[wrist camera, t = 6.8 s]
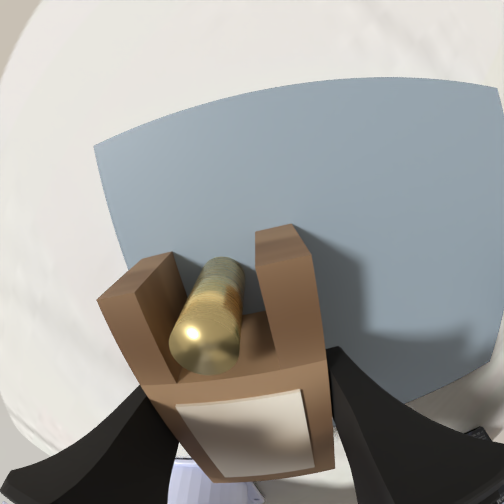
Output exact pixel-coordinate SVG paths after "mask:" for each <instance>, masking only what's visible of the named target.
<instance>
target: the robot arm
mask: <svg viewBox="0 0 504 504" xmlns="http://www.w3.org/2000/svg"><path fill="white" fill-rule="evenodd" d="M325 350H326V358H327V367H328V377H329V387H330V398H331V410H332V417H333V420H334V423H335V425H336V428H337V431H338V434H339V436H340V439H341V442H342V445H343V447H344V450H345V453H346V456H347V458H348V461H349V465H350V468H351V472H352V476H353V481H354V486H355V490H356V495H357V500H358V504H498V502H497V500H498V499H500V494H499V492H498V489H499V488H500V487H501V486H502V485H503V484H504V444H502V443H497V442H493V441H488V440H483V439H479V438H476V437H472V436H469V435H466V434H463V433H460V432H458V431H455V430H453V429H450V428H448V427H446V426H444V425H441V424H439V423H437V422H435V421H432V420H430V419H429V418H427V417H425V416H423V415H421V414H419V413H418V412H416V411H414V410H413V409H411V408H409V407H408V406H406V405H405V404H403V403H402V402H400V401H399V400H398V399H396V398H395V397H393V396H392V395H391V394H389V393H388V392H387V391H385V390H384V389H383V388H382V387H381V386H379V385H378V384H377V383H376V382H375V381H374V380H372V379H371V378H370V377H369V376H368V375H367V374H366V373H365V372H364V371H362V370H361V369H360V368H359V367H358V366H357V365H356V364H355V363H354V362H353V361H352V359H351V358H350V357H349V356H348V355H347V354H346V353H345V352H344V351H343V349H342V348H341V347H339V346H335V347H332V348H328V349H325ZM178 444H179V441H178V440H177V439H176V437H175V436H174V435H173V433H172V432H171V430H170V429H169V428H168V426H167V425H166V423H165V422H164V421H163V419H162V418H161V416H160V415H159V413H158V412H157V410H156V409H155V407H154V406H153V404H152V403H151V401H150V400H149V398H148V397H147V395H146V393H145V392H144V390H143V389H142V387H141V385H139V386H138V387H137V388H136V389H135V390H134V391H133V392H132V393H131V394H130V395H129V396H128V397H127V398H126V399H125V400H124V401H123V402H122V403H121V404H120V405H119V406H118V407H117V408H116V409H115V410H114V411H113V412H112V413H111V414H110V415H109V416H108V417H107V418H106V419H104V420H103V421H102V422H101V423H100V424H99V425H98V426H97V427H96V428H94V429H93V430H92V431H91V432H89V433H88V434H87V435H85V436H84V437H83V438H81V439H80V440H79V441H77V442H76V443H74V444H73V445H71V446H69V447H68V448H66V449H64V450H62V451H61V452H59V453H57V454H55V455H53V456H51V457H49V458H47V459H45V460H43V461H40V462H38V463H35V464H32V465H29V466H26V467H23V468H19V469H16V470H12V471H10V473H9V474H8V476H7V478H6V479H5V481H4V483H3V485H2V487H1V489H0V492H1V493H2V494H3V495H4V496H5V497H7V498H8V499H9V500H10V501H12V502H13V503H15V504H263V503H265V499H264V497H263V496H262V495H261V493H260V492H259V490H258V489H257V488H256V486H255V485H254V483H253V482H238V483H213V482H212V481H211V480H210V479H209V478H208V476H207V475H206V474H205V473H204V472H203V471H202V470H201V468H200V467H199V466H198V465H197V464H196V462H195V461H194V460H180V459H175V457H176V453H177V449H178ZM2 504H7V503H6V502H5V501H3V502H2ZM502 504H504V502H503V503H502Z"/></svg>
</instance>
